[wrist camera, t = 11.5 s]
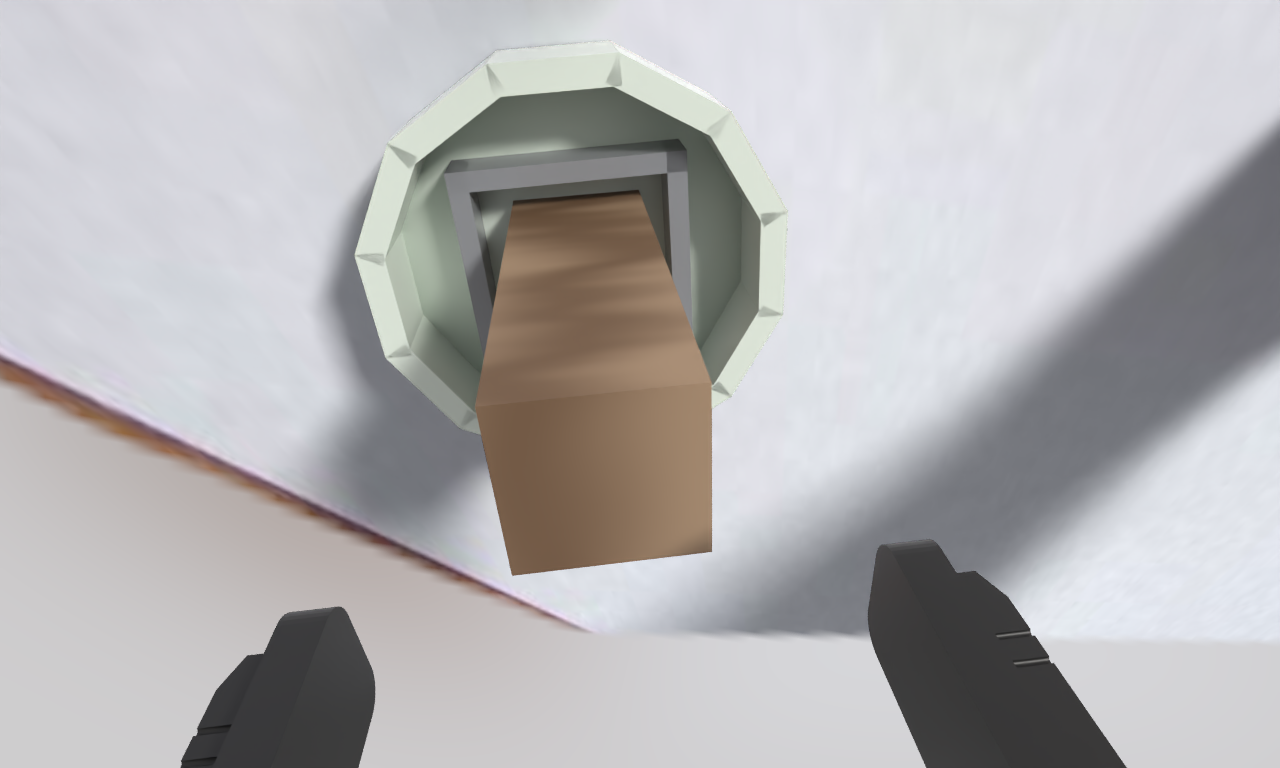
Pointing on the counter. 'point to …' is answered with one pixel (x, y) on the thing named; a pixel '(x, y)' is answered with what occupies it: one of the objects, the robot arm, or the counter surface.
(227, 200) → the counter surface
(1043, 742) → the robot arm
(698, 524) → the brown wooden block
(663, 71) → the pale green faceted dish
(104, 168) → the counter surface
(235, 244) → the counter surface
